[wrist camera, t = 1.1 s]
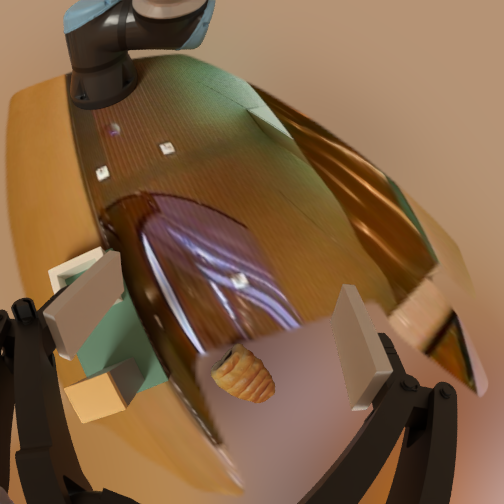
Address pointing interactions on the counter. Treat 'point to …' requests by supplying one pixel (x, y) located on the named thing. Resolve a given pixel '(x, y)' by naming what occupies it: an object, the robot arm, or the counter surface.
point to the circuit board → (120, 342)
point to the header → (75, 269)
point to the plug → (105, 390)
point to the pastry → (243, 375)
